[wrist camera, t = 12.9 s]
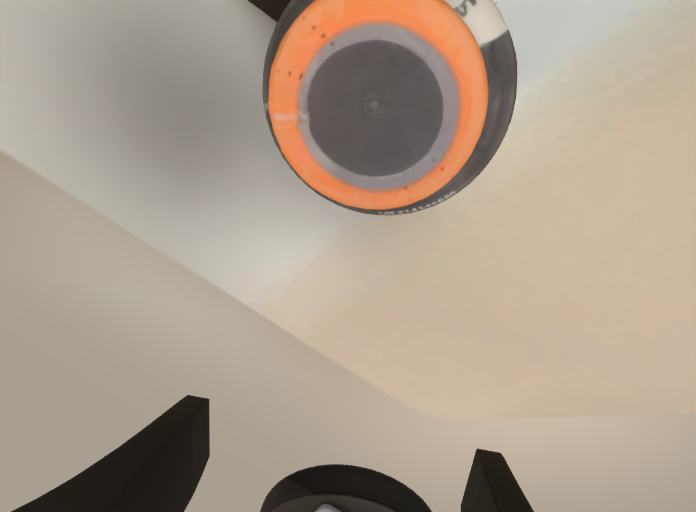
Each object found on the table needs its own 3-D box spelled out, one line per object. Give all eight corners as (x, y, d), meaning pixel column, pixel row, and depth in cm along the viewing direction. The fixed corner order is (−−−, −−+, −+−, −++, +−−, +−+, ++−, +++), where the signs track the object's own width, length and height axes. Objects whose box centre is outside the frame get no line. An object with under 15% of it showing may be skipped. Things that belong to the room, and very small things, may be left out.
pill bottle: (432, -42, 17) (452, -199, 7) (505, 107, 19) (613, 166, 8) (297, 54, 19) (148, 47, 9) (373, 182, 20) (325, 308, 10)
